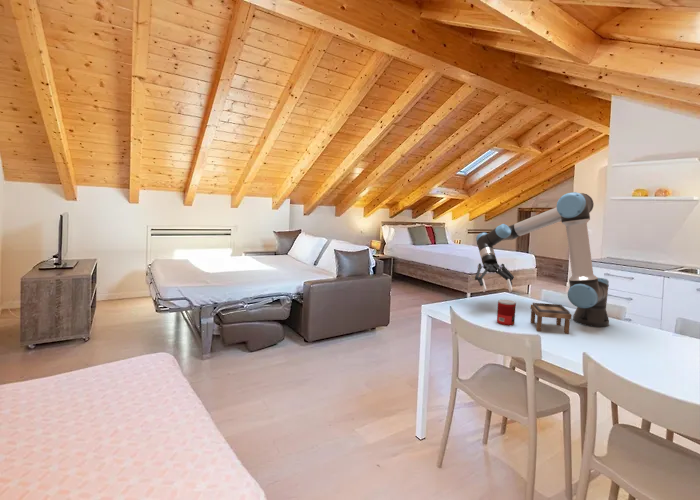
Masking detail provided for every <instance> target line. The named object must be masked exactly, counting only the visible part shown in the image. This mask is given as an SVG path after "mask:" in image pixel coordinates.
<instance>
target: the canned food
mask: <svg viewBox="0 0 700 500" xmlns="http://www.w3.org/2000/svg"><path fill="white" fill-rule="evenodd" d="M516 304H517V302H516V301H515V300H511V299H499V300H498V301H497V310H496V311H497V313H496V314H497V315H496V316H497V317H496V322H497V324H499V325H502V326H508V327H509V326H513V325H514V324H515V320H516V319H515V318H516V306H517V305H516Z"/></svg>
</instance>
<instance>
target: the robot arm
mask: <svg viewBox="0 0 700 500" xmlns="http://www.w3.org/2000/svg"><path fill="white" fill-rule="evenodd" d="M594 206H595V205H594V200H593V198H592V197H591V196H590V195H589V194H587V193H583V192H577V191H574V192H567V193H565V194H563V195H562V196H560V197H559V198H558V200H557V203H556V207H554V208H553V207H552V208H551V209H549V210H546V211H544V212H541V213H537V214H536V215H534V216H531V217H529V218H526V219H524V220H521V221H518V222H516V223H514V224H511V225H507V224H505V223H501V224H500V225H497V226H496V227H495V228H493V229H492V230H490V231H489V232H488V233H487V232H480V233H478V234H477V235H476V237H475V241H476V245H477V248H478V250H479V255H480V260H481V263H478V264H477V271H476V274H475V277H474V280H475V281H477V282H479V286H480V287H481V289H482V291H483V293H485V292H486V291H487V286H486V282H485V279H484V277H485V276H486V274H487V273H489V274H491V273H493V274H494V273H496V274H498V276H501V277H502V278H503V279H504V280H505V283H506V287H507V289H508V292H509V293H512V291H513V290H514V289H513V280H514V279H515V275H513V274H512V273H511V272H510V270H508V268H507V267H506V266H505V264H504V263H501V264H498V263H499V262H498V260H497V257H496V253H495V250H494V246H496V245H497V244H499V243H500V242H502V241H504V242H505V241H512V240H516V239H518V238H519V237H522V236H524V235H527V234H530V233H532V232H535V231H538V230H540V229H544V228H546V227H550V226H551V225H555V224H558V223H560V222H561V224H562V225H564V226H565V230H566V231H565V232H566V237H567V239H566V240H567V247H568V254H569V255H568V256H569V263H570V269H571V270H570V271H571V276H570V277H569V278H568V282H569V283H568V284H569V288H568V291H567V299H568V300H569V302H570V303H571V305H573V306H575V307H576V309H575V311H574V313H573V314H572V315H573V316H572V320H573V321H574V322H575V323H577V324H580V325H583V326H588V327H594V328H595V327H596V328H603V327H604V328H605V327H608V326H609V325H610V319H609V316H608V313H607V302H608V293H609V285H610V284H609V280H608V278H603V277H597V276H596V275H595V274H594V269H593V261H592V255H591V254H592V253H591V246H590V238H589V230H588V223H589V221H590V220H591V215H590V213H591V212H592V211H593V208H594ZM482 269H484V271H483V272H482V273H481V270H482ZM480 273H481V275H480ZM479 275H480V276H479Z"/></svg>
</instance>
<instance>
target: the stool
mask: <svg viewBox="0 0 700 500" xmlns="http://www.w3.org/2000/svg"><path fill="white" fill-rule="evenodd" d="M530 310H531V311H530V324H536V332H542V323H543V318H550V319H551V318H552V319H556V321H555V322H556V323H555V325H556V326H558V327H559V326H561V325H562V319H564V324H563V325H564V327H563V333H564V334H567V335H569V334H570V333H569V332H570V325H571V323H570V321H571V320H572V319H573V316H572V315H573V314H571V312H570V311H569V310H568V309H567V308H566V307H565V306H563V305H562V304H559V303H558V304H557V303H556V304H555V303H545V302H543V303H542V302H532V304H530Z"/></svg>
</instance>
